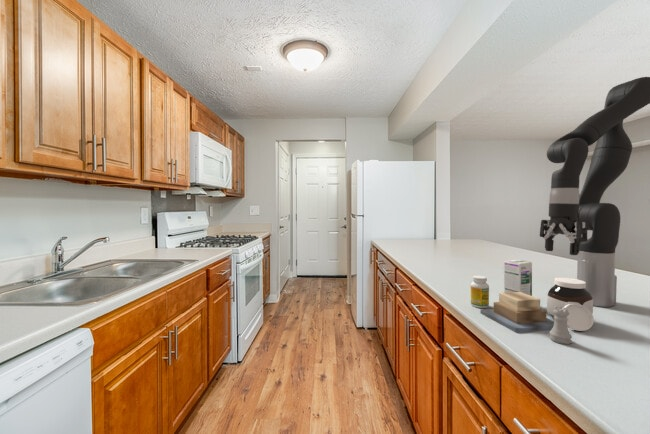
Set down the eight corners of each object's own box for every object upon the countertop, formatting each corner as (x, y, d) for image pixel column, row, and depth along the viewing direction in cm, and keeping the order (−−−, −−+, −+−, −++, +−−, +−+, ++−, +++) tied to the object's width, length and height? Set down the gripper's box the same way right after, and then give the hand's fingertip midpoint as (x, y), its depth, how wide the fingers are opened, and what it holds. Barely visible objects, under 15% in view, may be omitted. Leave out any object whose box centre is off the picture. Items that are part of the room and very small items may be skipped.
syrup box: (520, 308, 95) (520, 263, 95) (503, 302, 101) (503, 260, 100) (532, 306, 97) (533, 261, 97) (514, 300, 103) (515, 258, 102)
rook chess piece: (544, 337, 75) (544, 305, 75) (560, 336, 75) (561, 304, 75) (559, 345, 70) (560, 312, 70) (577, 344, 71) (578, 311, 70)
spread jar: (570, 314, 89) (571, 276, 89) (613, 330, 78) (614, 286, 78) (536, 318, 87) (536, 278, 87) (574, 334, 76) (575, 289, 76)
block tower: (521, 310, 94) (521, 288, 93) (562, 328, 80) (563, 302, 79) (480, 313, 92) (480, 290, 91) (515, 332, 78) (515, 305, 78)
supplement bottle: (476, 302, 102) (476, 274, 101) (492, 306, 97) (492, 277, 97) (467, 305, 99) (467, 276, 98) (483, 309, 94) (483, 279, 94)
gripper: (597, 202, 89) (593, 256, 90) (554, 203, 103) (551, 249, 104) (575, 202, 88) (571, 256, 89) (534, 202, 102) (532, 249, 103)
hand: (560, 252), depth 96 cm, fingers open, 8 cm apart
